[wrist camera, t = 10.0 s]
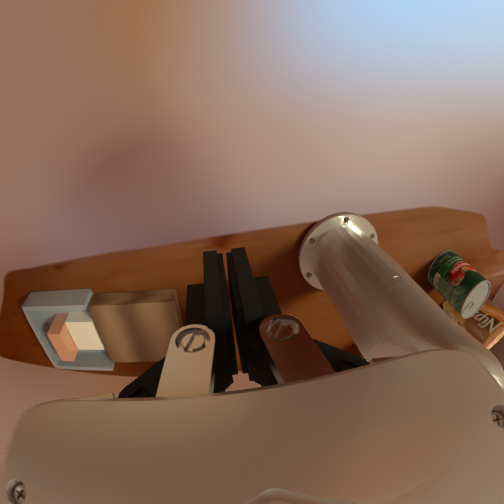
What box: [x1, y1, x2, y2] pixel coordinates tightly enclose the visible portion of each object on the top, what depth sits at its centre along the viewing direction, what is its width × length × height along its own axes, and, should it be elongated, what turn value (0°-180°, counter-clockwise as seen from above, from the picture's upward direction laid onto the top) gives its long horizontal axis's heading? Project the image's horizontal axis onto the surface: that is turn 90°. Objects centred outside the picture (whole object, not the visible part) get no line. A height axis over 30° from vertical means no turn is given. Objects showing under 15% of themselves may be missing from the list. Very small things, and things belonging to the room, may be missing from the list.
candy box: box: [443, 298, 504, 350], centre depth 47 cm, size 9×4×15 cm, turn 124°
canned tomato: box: [428, 250, 491, 318], centre depth 44 cm, size 8×8×11 cm
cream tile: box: [65, 311, 105, 350], centre depth 41 cm, size 5×6×2 cm
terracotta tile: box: [47, 313, 78, 361], centre depth 39 cm, size 5×6×2 cm
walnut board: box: [88, 288, 183, 362], centre depth 42 cm, size 13×12×3 cm
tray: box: [21, 289, 115, 371], centre depth 40 cm, size 12×14×4 cm
